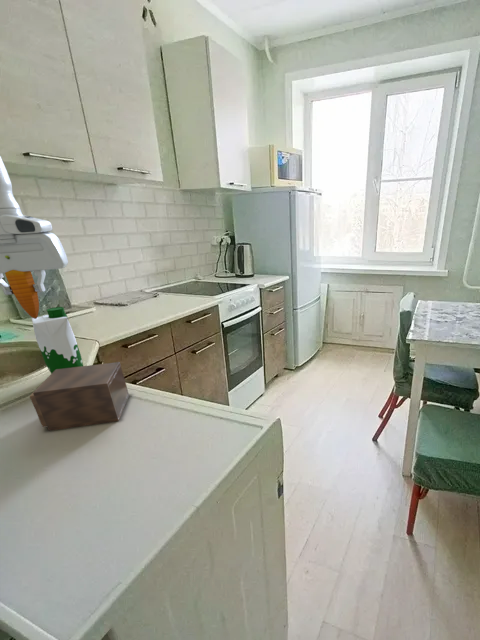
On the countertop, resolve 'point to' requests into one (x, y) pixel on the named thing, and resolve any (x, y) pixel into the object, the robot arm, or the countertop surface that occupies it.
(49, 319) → the milk carton
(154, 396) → the countertop surface
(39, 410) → the drawer
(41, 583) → the countertop surface
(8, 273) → the carrot
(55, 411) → the cabinet
